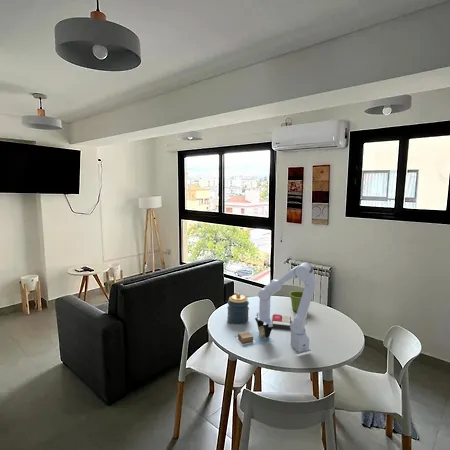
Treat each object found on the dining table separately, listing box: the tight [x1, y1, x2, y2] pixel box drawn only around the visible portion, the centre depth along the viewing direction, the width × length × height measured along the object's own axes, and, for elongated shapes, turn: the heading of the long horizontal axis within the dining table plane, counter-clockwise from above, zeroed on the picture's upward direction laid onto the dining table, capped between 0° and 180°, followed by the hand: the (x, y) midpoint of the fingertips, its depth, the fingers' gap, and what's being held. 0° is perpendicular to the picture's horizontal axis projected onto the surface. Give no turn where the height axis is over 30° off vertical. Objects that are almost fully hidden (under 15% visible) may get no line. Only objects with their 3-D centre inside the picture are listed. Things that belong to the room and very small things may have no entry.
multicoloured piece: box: [271, 313, 292, 331], centre depth 179 cm, size 11×4×15 cm
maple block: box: [258, 326, 269, 339], centre depth 163 cm, size 4×4×5 cm
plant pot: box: [289, 290, 303, 313], centre depth 199 cm, size 12×12×11 cm
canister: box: [226, 292, 250, 325], centre depth 182 cm, size 13×13×18 cm
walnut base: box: [237, 330, 253, 344], centre depth 159 cm, size 6×6×3 cm
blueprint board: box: [234, 331, 275, 348], centre depth 161 cm, size 12×18×1 cm, turn 111°
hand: (263, 333), depth 163 cm, fingers open, 7 cm apart
